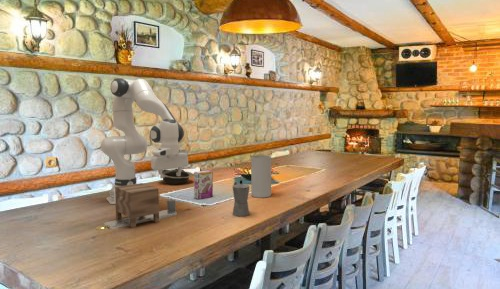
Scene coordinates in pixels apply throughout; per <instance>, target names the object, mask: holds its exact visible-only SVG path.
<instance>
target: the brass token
mask: <svg viewBox="0 0 500 289" xmlns="http://www.w3.org/2000/svg"><path fill="white" fill-rule="evenodd" d="M107 229H109V228H108V226H106V225H104V224H103V225H97V226H96V227H95V230H97V231H104V230H107Z"/></svg>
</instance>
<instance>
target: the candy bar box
mask: <svg viewBox="0 0 500 289" xmlns="http://www.w3.org/2000/svg"><path fill="white" fill-rule="evenodd" d="M213 172H214V171H213V170H210V169H209V170H202V171H201V170H200V171H194V172H193V178H194V179H193V180H194V181H193V184H194V185H193V187H194V189H193V192H194V193H193V197H194V199H196V200H203V199H208V198H212V197H213V196H214V195H213V191H214V190H213V188H214V186H213V183H214V182H213V181H214V180H213V179H214V178H213V176H214V173H213Z"/></svg>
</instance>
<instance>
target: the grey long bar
mask: <svg viewBox="0 0 500 289" xmlns="http://www.w3.org/2000/svg"><path fill="white" fill-rule="evenodd" d="M166 203H167V209H163V210H159V220H161V219H165V218H169V217H174V216H178V212H177V211H176V200H174V199H169V200H168V199H167V201H166ZM151 221H153V214H152V215H147V216H142V217H137V218H136V225H138V224H141V223H146V222H151ZM103 225H106V226H108V228H107V229H110V230H115V229H117V228H118V229H119V228H123V227H129V226H130V218H129V217H125V218H122V219H119V220H116V219H114V220H109V221H106V222H103Z"/></svg>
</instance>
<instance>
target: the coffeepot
mask: <svg viewBox="0 0 500 289" xmlns="http://www.w3.org/2000/svg"><path fill="white" fill-rule="evenodd" d="M232 193H233V198H234V204H233V211H232V215H233V216H235V217H248V216H249V215H250V209H249V204H248V203H249V202H248V200H249V193H250V185H249V184H246V183H243V179H242V180H241V179H240V180H239V182H236V181H235V182H234V183H233V185H232Z"/></svg>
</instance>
